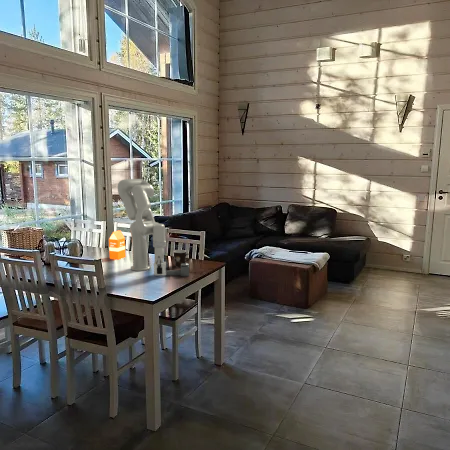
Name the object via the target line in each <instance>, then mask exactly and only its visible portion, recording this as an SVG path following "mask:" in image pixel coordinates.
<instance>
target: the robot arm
mask: <svg viewBox="0 0 450 450" xmlns="http://www.w3.org/2000/svg"><path fill="white" fill-rule="evenodd" d="M117 193H118V195H119V197H120V199H121V201H122V203H123V206H124V209H125V211H126V214H127V218H128V219H129V220H130V221H134V222H132V223H131V224H130V226H129V231H130V236H131V249H132V266H130V270H131V271H135V272H143V271H147V270H150V269H151V265H148V263H149V262H148V242H147V239H146V238H145V236H149V235H152V247H153V248H154V262H155V263H157V274H162V263H163V262H164V258H165V257H164V255H165V253H164V252H165V250H164V249H165V247H166V227H165V224H163V223H159V222H158V221H157V222H156V221H155V217H154V215H153V212H152V209H151V207H152V205H151V202H150V199H149V198H151V197H153V196H154V194H155V190H154V187H153V185H151V183H149V182H147V181H146V180H145V179H142V178H126V179H122V180H120V181H119V182H118V183H117ZM160 262H161V263H160Z"/></svg>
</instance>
